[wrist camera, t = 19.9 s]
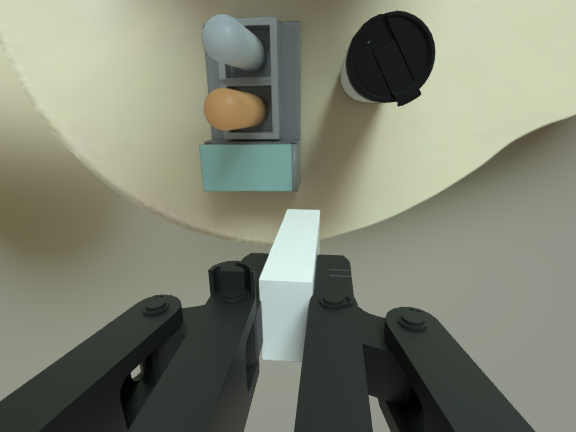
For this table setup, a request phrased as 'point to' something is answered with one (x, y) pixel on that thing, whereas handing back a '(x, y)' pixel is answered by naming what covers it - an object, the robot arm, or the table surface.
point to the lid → (249, 167)
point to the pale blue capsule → (233, 44)
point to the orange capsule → (234, 109)
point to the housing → (265, 85)
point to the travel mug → (388, 59)
